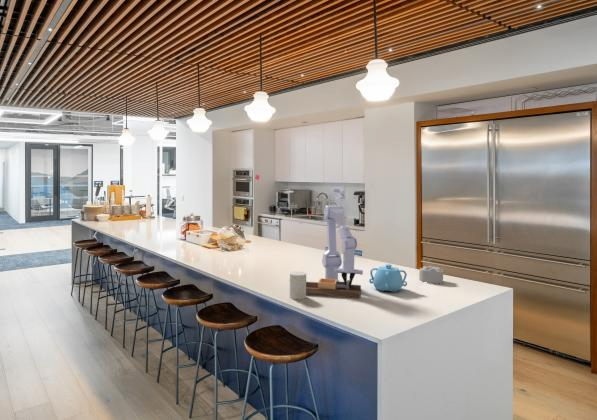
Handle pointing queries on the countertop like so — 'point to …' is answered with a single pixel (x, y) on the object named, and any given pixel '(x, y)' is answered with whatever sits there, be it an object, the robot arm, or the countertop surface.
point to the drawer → (332, 284)
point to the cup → (297, 285)
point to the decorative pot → (388, 278)
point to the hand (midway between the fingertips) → (347, 287)
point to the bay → (333, 291)
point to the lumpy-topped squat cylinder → (431, 274)
